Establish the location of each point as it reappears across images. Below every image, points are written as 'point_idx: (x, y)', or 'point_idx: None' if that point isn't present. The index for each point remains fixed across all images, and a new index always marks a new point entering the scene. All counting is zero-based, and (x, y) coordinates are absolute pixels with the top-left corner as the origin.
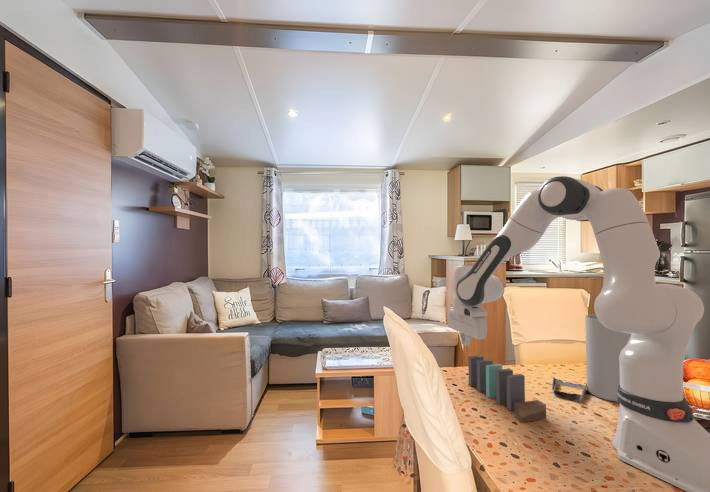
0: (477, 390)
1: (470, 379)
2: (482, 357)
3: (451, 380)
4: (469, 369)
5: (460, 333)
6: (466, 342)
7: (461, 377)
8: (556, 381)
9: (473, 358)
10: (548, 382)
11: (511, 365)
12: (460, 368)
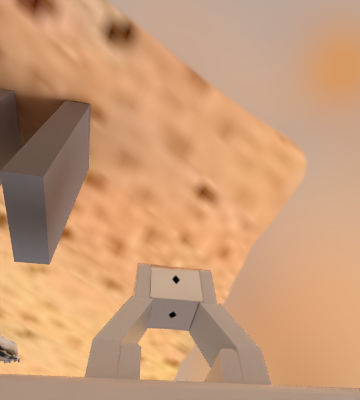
0: (10, 90)
1: (65, 112)
2: (16, 251)
3: (177, 64)
4: (57, 133)
5: (236, 365)
6: (135, 293)
7: (184, 142)
8: (17, 352)
9: (6, 187)
10: (33, 338)
11: (187, 346)
12: (267, 211)
